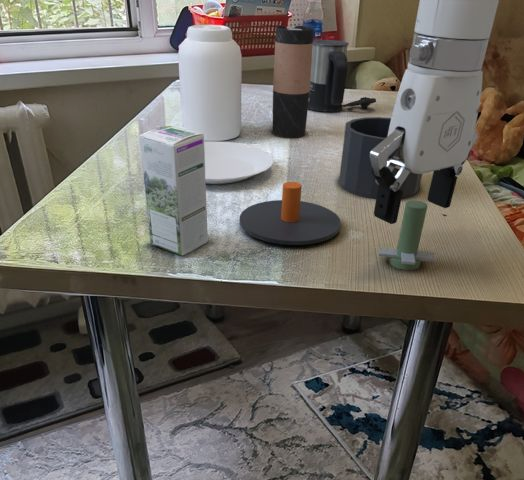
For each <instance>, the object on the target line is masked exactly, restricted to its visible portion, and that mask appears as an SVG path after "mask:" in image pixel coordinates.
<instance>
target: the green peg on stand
mask: <svg viewBox="0 0 524 480" xmlns="http://www.w3.org/2000/svg"><path fill="white" fill-rule="evenodd" d="M403 210H404V211H403V216H402V220H401V226H400V231H399V236H398V241H397V246H396V247H397V248H396V249H392V248H384V247H383V248H382V247H380V248H378V257H383V258H389V259H388V262H389V264H390V265H391V266H392V267H393V268H396V269H399V270H404V271H414V270H417V269H419V268H420V266H421V263H422V261H423V262H424V261H425V262H435V255H434V254H435V253H432V252H422V251H419V248H420V242H421V237H422V233H423V228H424V223H425V220H426V219H425V218H426V215H427V211H428V204H427V202H424V201H421V200H417V199H416V200H415V199H414V200H407V201H406V202H405V205H404V209H403Z"/></svg>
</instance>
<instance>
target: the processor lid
mask: <svg viewBox="0 0 524 480" xmlns="http://www.w3.org/2000/svg"><path fill="white" fill-rule="evenodd" d="M301 197H302V183H300V182H297V181H285V182H284V183H283V184H282V196H281V199H276V200H266V201H262V202H259V203H255V204H253V205H250V206H248V207H246V208H245V209H244V210H242V212H241V213H240V215H239V226H240V227H241V229H242V230H243V231H244V232H245V233H246V234H248V235H249V236H251V237H253V238H256V239H258V240H260V241H264V242H268V243H273V244H280V245H288V246H302V245H312V244H318V243H322V242H325V241H328V240H330V239H332V238H333V237H335V236H336V235H337V234H338V233H339V232H340V229H341V226H342V223H341V218H340V217H339V216H338V215H337V214H336V213H335V211H333V210H331V209H329V208H328V207H325V206H323V205H319V204H316V203H313V202H308V201H302V200H301V199H302V198H301Z"/></svg>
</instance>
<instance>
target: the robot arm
mask: <svg viewBox="0 0 524 480" xmlns="http://www.w3.org/2000/svg"><path fill="white" fill-rule="evenodd" d="M499 2H500V0H419V2H418V8H417V14H416V18H415V25H414V30H413V34H412V41H411V44H410V45H411V46H410V49H409V54H408V55H409V58H408V63H407V68H405V71H404V73H403V76H402V78H401V82H400V85H399V89H398V90H397V95H396V97H395V101H394V106H393V109H392V113H391V117H390V118H391V122H390V126H389V131H388V136H387V137H386V138H385V139H384V140H383V141H382V142H381V143H379V144H378V145H377V146H376V147H375V148H373V149H372V150H371V152H370V154H369V156H370V161H371V166H372V174H373V176H374V177H375V182H376V184H378V185H379V186H378V192H377V198H376V199H375V204H374V209H373V216H374V217H375V218H377V219H379V220H382V221H384V222H385V223H387V224H390V225H393V224H396V223H397V222H398V218H399V217H398V216H399V213H400V209H401V208H400V207H401V203H402V199H403V198H402V192H403V191H402V190H400V189H399V188H400V186H401V185H402V184H403V182H404V181H405V179H406V178H407V176H408V175H409V173H410V172H413V173H415V174H422V175H423V174H426V173H431V172H433V173H432V176H431V180H430V181H431V182H430V185H429V189H428V195H427V201H428V202H429V203H431V204H434V205H436V206H439V207H441V208H444V209H447V208H450V207H451V203H452V200H453V196H454V192H455V189H456V185H457V181H458V176H460V175H461V174H462V173H463V165H464V164H465V163H466V161H467V160H468V159H469V157H470V154H471V150H472V149H473V147H474V145H475V144H476V141H477V139H478V138H479V137H478V136H479V133H478V132H476V131H475V130H476V126H477V121H478V116H479V115H478V114H479V109H480V104H481V98H482V91H483V77H484V75H483V74H484V71H482V68H483V64H484V61H485V56H486V54H487V48H488V45H489V42H490V36H491V33H492V29H493V26H494V22H495V17H496V13H497V10H498V6H499ZM394 167H395V168H397V169H400V170H399V171H398V173H397V174H396V176H395V177H394V176H393V174H392V171H393V170H394ZM401 198H402V199H401Z"/></svg>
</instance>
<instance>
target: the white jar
mask: <svg viewBox="0 0 524 480" xmlns="http://www.w3.org/2000/svg"><path fill="white" fill-rule="evenodd" d="M178 47H179V48H178V54H177V60H178V77H179V94H180V95H179V96H180V114H181V115H180V116H181V129H186V130H190V131H194V132H198V133H203V134H204V142H209V141H217V142H224V141H229V140H232V139H235V138H237V137H239V136H240V134H241V132H242V82H243V81H242V79H243V78H242V77H243V76H242V75H243V72H242V70H243V69H242V68H243V64H242V63H243V60H242V59H243V58H242V57H243V55H242V52H241V47H240V45H239V44H238V43H237V42H236V40H234V39H233V31H232V29H231V28H230V27H229V26H226V25H221V24H194V25H191V26H188V27H187V30H186V38H184V40H183V41H182V42H181V43H180V44H179V46H178Z"/></svg>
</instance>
